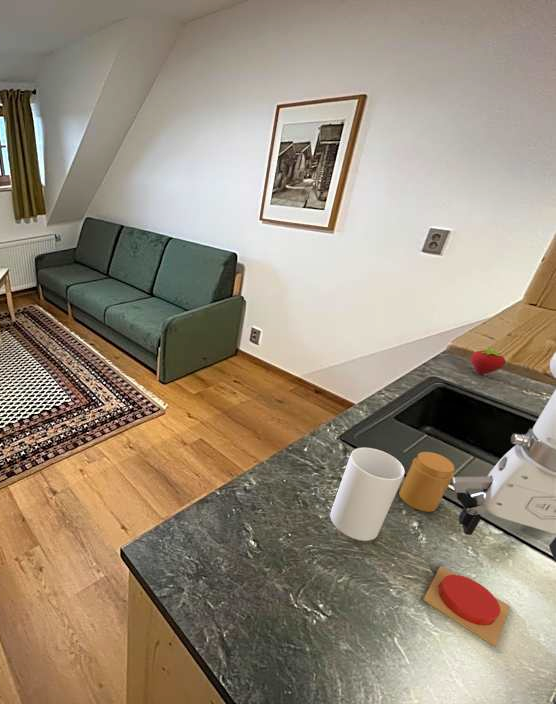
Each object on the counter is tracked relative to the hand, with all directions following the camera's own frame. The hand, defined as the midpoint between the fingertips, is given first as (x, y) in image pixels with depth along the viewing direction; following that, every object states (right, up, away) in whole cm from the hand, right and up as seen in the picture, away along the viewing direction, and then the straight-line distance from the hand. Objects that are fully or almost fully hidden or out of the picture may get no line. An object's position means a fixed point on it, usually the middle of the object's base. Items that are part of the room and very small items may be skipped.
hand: (508, 541), depth 59 cm
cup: (-9, -6, +21) cm, 24 cm away
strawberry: (+59, +21, +64) cm, 90 cm away
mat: (0, -14, +7) cm, 15 cm away
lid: (0, -12, +6) cm, 13 cm away
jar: (+8, -3, +25) cm, 26 cm away
